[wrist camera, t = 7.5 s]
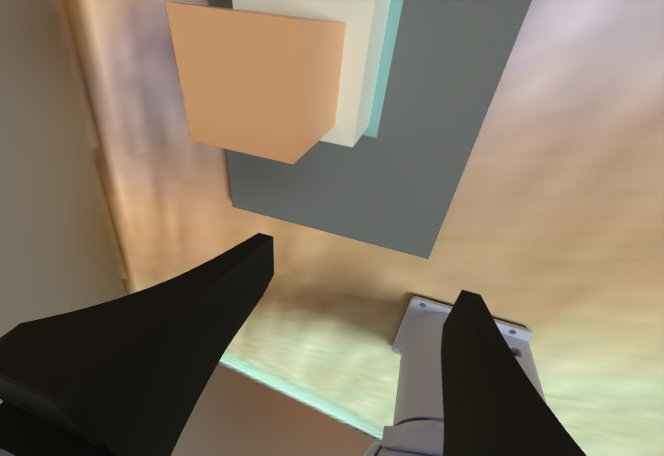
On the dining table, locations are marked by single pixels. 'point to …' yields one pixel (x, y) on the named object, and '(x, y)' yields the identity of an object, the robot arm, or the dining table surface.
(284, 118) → the terracotta block
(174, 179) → the dining table surface
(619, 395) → the dining table surface
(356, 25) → the base block
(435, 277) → the dining table surface
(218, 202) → the dining table surface
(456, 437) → the robot arm
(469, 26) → the grey flat plate
